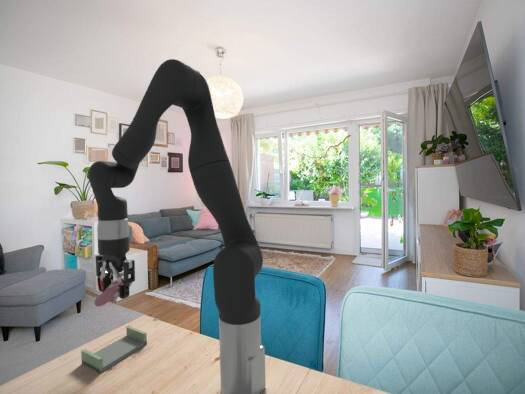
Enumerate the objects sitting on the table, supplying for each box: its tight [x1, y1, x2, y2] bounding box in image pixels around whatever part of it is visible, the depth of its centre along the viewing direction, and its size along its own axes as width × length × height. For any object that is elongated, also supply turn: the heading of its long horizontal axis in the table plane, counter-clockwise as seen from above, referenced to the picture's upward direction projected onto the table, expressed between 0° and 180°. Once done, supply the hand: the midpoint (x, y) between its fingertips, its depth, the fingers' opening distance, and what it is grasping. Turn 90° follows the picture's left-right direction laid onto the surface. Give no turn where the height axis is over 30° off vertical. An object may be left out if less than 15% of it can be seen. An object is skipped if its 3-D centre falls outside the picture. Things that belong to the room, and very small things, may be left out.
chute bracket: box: [80, 325, 148, 374], centre depth 74 cm, size 8×14×4 cm, turn 151°
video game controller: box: [93, 277, 133, 307], centre depth 74 cm, size 10×5×7 cm, turn 175°
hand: (115, 294), depth 74 cm, fingers closed on video game controller, 7 cm apart
